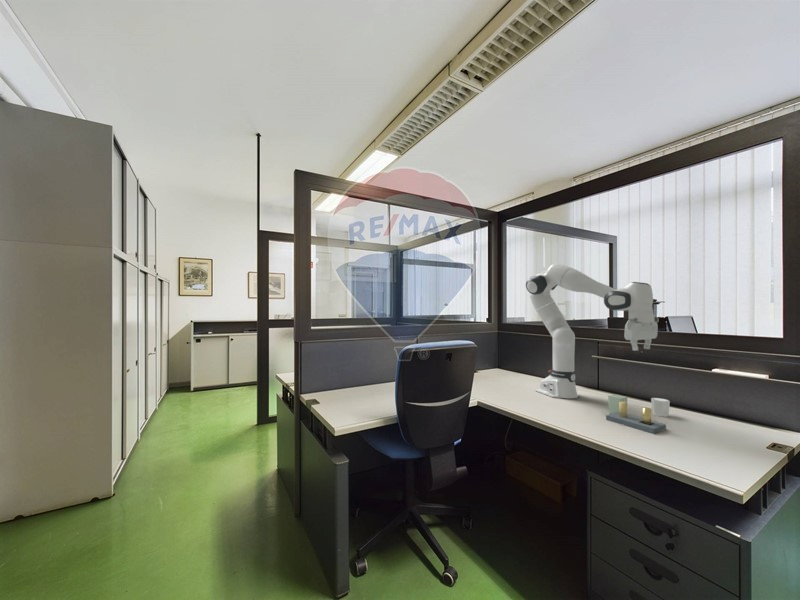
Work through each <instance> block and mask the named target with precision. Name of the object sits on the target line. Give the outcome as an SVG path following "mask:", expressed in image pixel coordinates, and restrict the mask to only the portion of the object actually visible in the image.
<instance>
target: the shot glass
mask: <svg viewBox="0 0 800 600" xmlns="http://www.w3.org/2000/svg"><path fill="white" fill-rule="evenodd" d="M650 402H651V411H652V414H653V415H654V416H658V417H665V418H667V417H669V415H670V403H671V401H670V400H669V399H666V398H661V397H660V398H659V397H651V398H650Z"/></svg>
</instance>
